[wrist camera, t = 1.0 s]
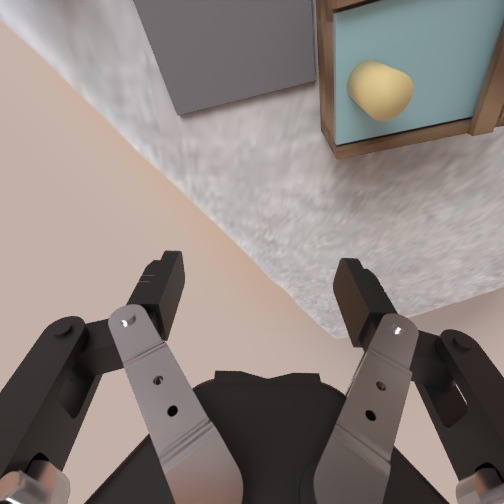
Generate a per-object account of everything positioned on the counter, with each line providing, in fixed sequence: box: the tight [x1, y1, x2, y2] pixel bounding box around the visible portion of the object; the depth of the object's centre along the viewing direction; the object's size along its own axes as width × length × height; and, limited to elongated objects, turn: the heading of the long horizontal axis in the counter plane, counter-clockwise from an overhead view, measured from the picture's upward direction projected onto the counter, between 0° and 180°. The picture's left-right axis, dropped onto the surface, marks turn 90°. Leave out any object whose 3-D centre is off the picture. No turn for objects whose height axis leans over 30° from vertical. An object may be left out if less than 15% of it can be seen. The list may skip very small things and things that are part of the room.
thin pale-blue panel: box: [333, 0, 504, 145], centre depth 20 cm, size 10×14×6 cm
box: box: [316, 0, 504, 159], centre depth 23 cm, size 12×15×9 cm
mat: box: [133, 0, 315, 115], centre depth 25 cm, size 13×16×1 cm
